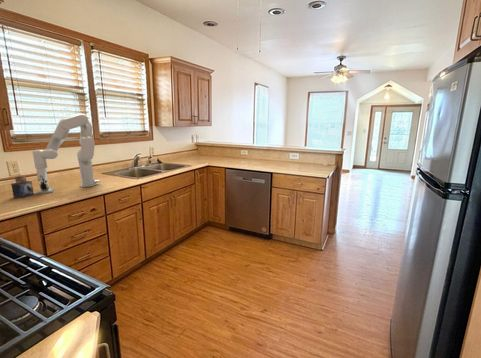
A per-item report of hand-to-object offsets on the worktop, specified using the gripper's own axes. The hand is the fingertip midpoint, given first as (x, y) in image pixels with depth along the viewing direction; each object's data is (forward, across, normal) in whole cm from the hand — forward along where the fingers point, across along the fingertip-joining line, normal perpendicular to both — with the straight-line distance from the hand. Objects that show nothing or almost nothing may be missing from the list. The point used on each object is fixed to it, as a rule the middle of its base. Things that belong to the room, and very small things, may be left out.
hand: (45, 188), depth 205 cm
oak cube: (+1, 0, 0) cm, 1 cm away
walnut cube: (-8, +7, -12) cm, 16 cm away
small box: (+3, +7, -12) cm, 14 cm away
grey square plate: (+3, 0, 0) cm, 3 cm away
